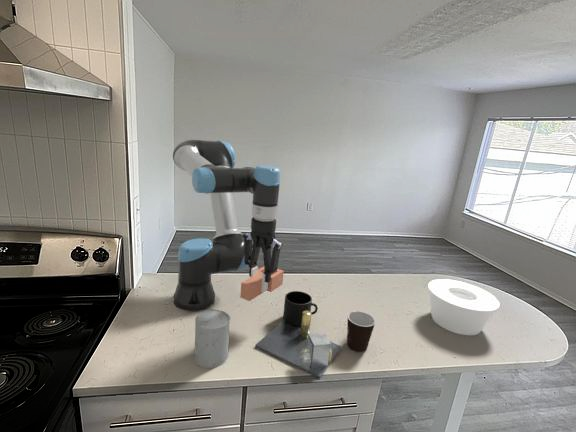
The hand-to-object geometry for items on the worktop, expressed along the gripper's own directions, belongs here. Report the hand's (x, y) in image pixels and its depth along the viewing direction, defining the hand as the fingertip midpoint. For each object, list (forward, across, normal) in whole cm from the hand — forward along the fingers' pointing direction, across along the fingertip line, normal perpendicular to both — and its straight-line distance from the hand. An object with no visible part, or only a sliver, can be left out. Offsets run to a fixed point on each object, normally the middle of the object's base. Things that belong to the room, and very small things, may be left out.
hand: (258, 288), depth 105 cm
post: (+15, +15, +7) cm, 22 cm away
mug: (+16, +9, +15) cm, 23 cm away
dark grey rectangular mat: (+16, +16, +1) cm, 22 cm away
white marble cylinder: (+16, -3, -18) cm, 24 cm away
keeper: (+15, +24, -1) cm, 28 cm away
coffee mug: (+16, +30, +15) cm, 37 cm away
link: (+1, 0, +1) cm, 1 cm away
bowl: (+16, +57, +52) cm, 79 cm away
